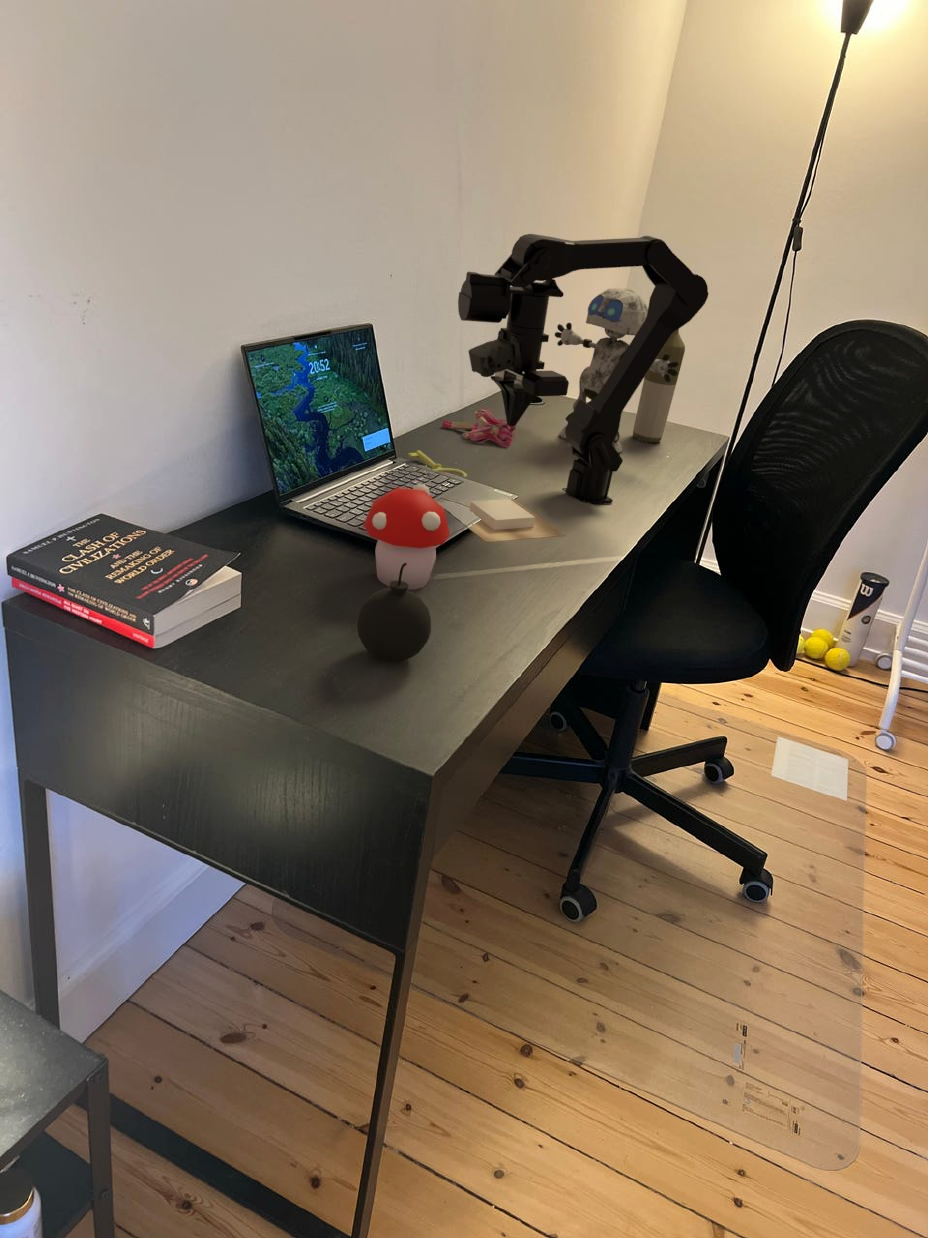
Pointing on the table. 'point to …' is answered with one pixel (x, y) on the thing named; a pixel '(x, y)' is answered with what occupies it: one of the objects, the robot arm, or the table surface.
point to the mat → (516, 530)
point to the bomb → (394, 622)
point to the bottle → (658, 395)
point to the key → (434, 466)
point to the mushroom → (406, 534)
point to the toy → (485, 429)
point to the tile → (502, 514)
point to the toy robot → (611, 342)
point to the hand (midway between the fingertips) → (511, 425)
